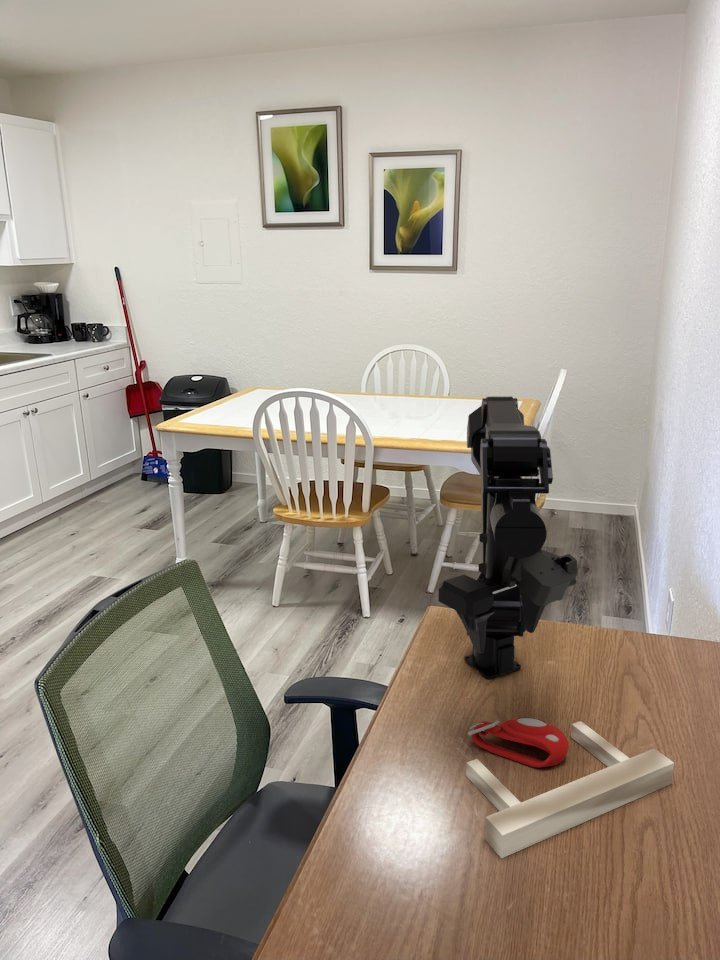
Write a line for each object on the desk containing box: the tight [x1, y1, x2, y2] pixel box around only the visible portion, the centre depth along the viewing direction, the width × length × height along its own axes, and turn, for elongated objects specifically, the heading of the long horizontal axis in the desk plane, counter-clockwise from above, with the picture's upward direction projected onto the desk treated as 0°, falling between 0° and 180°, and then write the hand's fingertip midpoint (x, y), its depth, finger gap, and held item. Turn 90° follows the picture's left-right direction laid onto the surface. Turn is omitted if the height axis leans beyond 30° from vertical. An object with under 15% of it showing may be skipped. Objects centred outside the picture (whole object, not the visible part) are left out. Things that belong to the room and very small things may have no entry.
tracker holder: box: [467, 716, 569, 768], centre depth 95 cm, size 12×4×10 cm
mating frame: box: [465, 720, 675, 859], centre depth 88 cm, size 12×25×3 cm, turn 116°
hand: (505, 641), depth 96 cm, fingers open, 9 cm apart
